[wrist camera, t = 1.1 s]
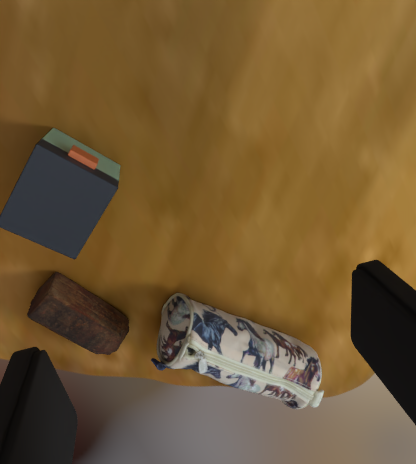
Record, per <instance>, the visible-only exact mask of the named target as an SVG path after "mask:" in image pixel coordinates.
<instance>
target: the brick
mask: <svg viewBox="0 0 416 464" xmlns="http://www.w3.org/2000/svg"><path fill="white" fill-rule="evenodd" d="M27 315H28V317H29V318H30V319H31V320H33V321H35V322H37V323H39V324H41V325H43V326H45V327H47V328H48V329H50V330H52V331H54V332H56V333H57V334H59V335H61V336H63V337H65V338H67V339H68V340H70V341H72V342H74V343H76V344H78V345H80V346H81V347H83V348H85V349H87V350H89V351H91V352H93V353H95V354H107V355H110V354H111V353H112V352H115V351H117V350H118V348H119V346H120V344H121V343H122V341H123V340H124V339H125V336H126V335H127V333H128V332H129V326H128V325H129V320H128V318H127V317H125V316H124V315H123V314H121V313H120V312H119V311H117V310H116V309H115V308H114V307H112V306H111V305H109V304H107V303H106V302H104V301H103V300H101V299H100V298H98V297H97V296H95V295H93V294H92V293H90V292H89V291H87V290H85V289H84V288H83V287H81V286H80V285H78V284H77V283H75V282H73V281H72V280H70V279H68V278H67V277H65V276H64V275H62V274H60V273H58V272H55V273H54V274H53V275H52V276H51V277H50V278H49V279H48V280H47V281H46V282H45V283H44V284H43V285H42V286H41V287H40V288H39V290H38V291H37V293H36V295H35V297H34V299H33V300H32V301H31V305H30V308H29V311H28V314H27Z"/></svg>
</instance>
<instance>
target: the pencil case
mask: <svg viewBox="0 0 416 464" xmlns="http://www.w3.org/2000/svg"><path fill="white" fill-rule="evenodd" d="M157 354H158V357H159V359H160V361H161V362H159V361H157V360H156V359H154V358H152V359H151V361H152V362H153V363H154V365H155V366H156V367H157V369H158V370H164V369H165V368H166V367H167V368H171V369H178V368H181V369H192V370H194V371H196V372H198V373H200V374H203V375H206V376H209V377H211V378H213V379H215V380H217V381H219V382H221V383H223V384H226V385H229V386H232V387H235V388H238V389H242V390H246V391H249V392H253V393H256V394H261V395H264V396H268V397H272V398H277V399H280V400H281V401H282V402H283V403H284V404H285V405H287V406H289V407H290V408H292V409H300V408H304V407H306V406H307V405H308V404H309V405H310V406H312V407H318V405H319V404H320V402H321V399H322V397H323V393H324V391H323V390H320V391H318V388H319V386H320V382H321V377H322V370H321V364H320V360H319V358H318V355H317V353H316V352H315V351H314V350H313V348H311V347H310V346H308V345H306V344H304V343H302V342H301V341H299V340H298V339H296V338H294V337H291V336H289V335H286V334H284V333H281V332H278V331H276V330H274V329H271V328H268V327H264V326H261V325H259V324H257V323H254V322H252V321H250V320H247V319H245V318H241V317H238V316H234V315H231V314H228V313H225V312H224V311H222V310H219V309H216V308H214V307H211V306H208V305H205V304H202V303H199V302H196V301H194V300H191V299H190V298H189V297H188V296H187V295H185V294H181V293H176V294H174V295H172V296H171V297H170V298H169V299H168V301H167V302H166V304H164V306H163V309H162V320H161V326H160V330H159V335H158V340H157Z"/></svg>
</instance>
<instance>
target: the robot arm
mask: <svg viewBox="0 0 416 464" xmlns="http://www.w3.org/2000/svg"><path fill="white" fill-rule="evenodd" d="M351 339H352V342H353V344H354V346H355V348H356V349H357V350H358V352H359V353H360V354H361V355H362V357H363V358H364V359H365V361H366V362H367V363H368V364H369V366H370V367H371V368H372V370H373V371H374V372H375V373H376V375H377V376H378V377H379V378H380V380H381V381H382V382H383V384H384V385H385V386H386V388H387V389H388V390H389V391H390V393H391V394H392V395H393V396H394V398H395V399H396V400H397V402H398V403H399V404H400V406H401V407H402V408H403V409H404V411H405V412H406V413H407V415H408V416H409V417H410V418H411V420H412V421H413V422H414V423H415V425H416V290H414V289H413V288H412V287H411V286H409V285H408V284H407V283H406V282H405V281H403V280H402V279H401V278H400V277H398V276H397V275H396V274H395V273H394V272H392V271H391V270H390V269H389V268H387V267H386V266H385V265H384V264H383V263H381V262H380V261H378V260H373V261H369V262H365V263H361V264H359V265H357V267H356V270H354V271H353V272H352V301H351ZM76 430H77V414H76V411H75V409H74V407H73V405H72V403H71V401H70V399H69V396H68V394H67V392H66V391H65V388H64V386H63V384H62V382H61V380H60V378H59V376H58V374H57V372H56V370H55V368H54V366H53V364H52V362H51V360H50V358H49V356H48V354H47V352H46V351H45V350H41V351H40V350H39V349H38V348H37V347H32V348H28V349H24V350H20V351H16V352H14V353H13V354H12V356H11V359H10V361H9V364H8V366H7V369H6V371H5V374H4V377H3V379H2V382H1V384H0V464H72V458H73V452H74V444H75V438H76Z"/></svg>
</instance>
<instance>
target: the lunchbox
mask: <svg viewBox="0 0 416 464" xmlns="http://www.w3.org/2000/svg"><path fill="white" fill-rule="evenodd" d="M119 173H120V165H119V164H117V163H116V162H114V161H112V160H110V159H108V158H107V157H105V156H103V155H101V154H100V153H98V152H96V151H94V150H93V149H91V148H89V147H87V146H85V145H84V144H82V143H80V142H78V141H77V140H75V139H73V138H71V137H70V136H68V135H66V134H64V133H63V132H61V131H59V130H57V129H55V128H52V129H51V130H50V131H49V132H48V133H47V134H46V135H45V136H44V137H43V138H42V139H41V140H40V141H39V142H38V143H37V144H36V146H35V148H34V149H33V151H32V153H31V155H30V157H29V159H28V161H27V163H26V165H25V167H24V169H23V171H22V173H21V175H20V177H19V179H18V181H17V183H16V185H15V187H14V189H13V191H12V193H11V195H10V197H9V199H8V201H7V203H6V205H5V207H4V209H3V211H2V213H1V215H0V227H1V228H3V229H5V230H8V231H10V232H12V233H15V234H17V235H19V236H22V237H24V238H26V239H29V240H31V241H33V242H36V243H38V244H40V245H42V246H45V247H47V248H49V249H52V250H54V251H56V252H59V253H61V254H63V255H66V256H68V257H70V258H73V259H76V258H77V256H78V254H79V253H80V251H81V249H82V248H83V246H84V244H85V242H86V241H87V239H88V237H89V236H90V234H91V232H92V231H93V229H94V227H95V226H96V224H97V222H98V221H99V219H100V217H101V216H102V214H103V212H104V211H105V209H106V207H107V206H108V204H109V202H110V201H111V199H112V197H113V196H114V194H115V192H116V191H117V189H118V183H119Z"/></svg>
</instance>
